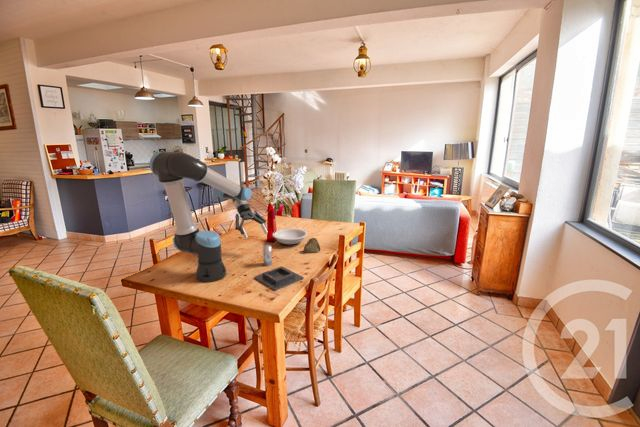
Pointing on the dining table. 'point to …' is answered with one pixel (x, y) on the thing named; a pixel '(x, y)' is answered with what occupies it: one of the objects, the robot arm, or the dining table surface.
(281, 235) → the soup bowl
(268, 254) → the steel roller
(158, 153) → the robot arm
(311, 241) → the rock
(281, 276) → the socket plate
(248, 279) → the dining table surface
